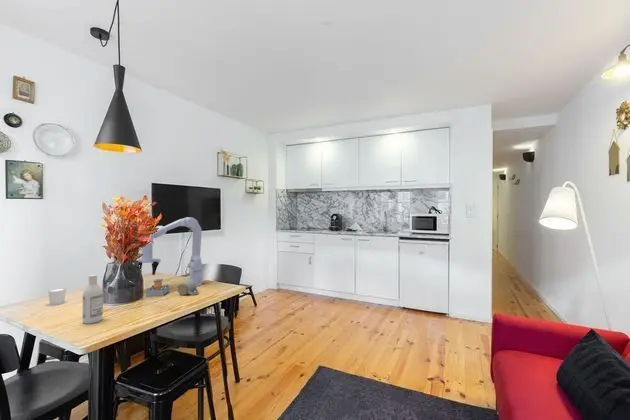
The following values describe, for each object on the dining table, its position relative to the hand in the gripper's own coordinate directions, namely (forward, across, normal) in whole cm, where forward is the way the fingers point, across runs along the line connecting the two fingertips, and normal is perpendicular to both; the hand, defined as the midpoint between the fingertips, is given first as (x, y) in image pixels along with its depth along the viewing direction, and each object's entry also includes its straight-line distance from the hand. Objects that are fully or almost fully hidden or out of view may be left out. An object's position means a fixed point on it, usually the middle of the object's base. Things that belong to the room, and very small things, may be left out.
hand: (146, 274), depth 173 cm
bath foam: (+10, -3, -46) cm, 47 cm away
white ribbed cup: (+10, -36, -18) cm, 41 cm away
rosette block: (+10, +8, -6) cm, 14 cm away
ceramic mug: (+10, +26, -8) cm, 29 cm away
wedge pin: (+10, +8, -6) cm, 14 cm away
